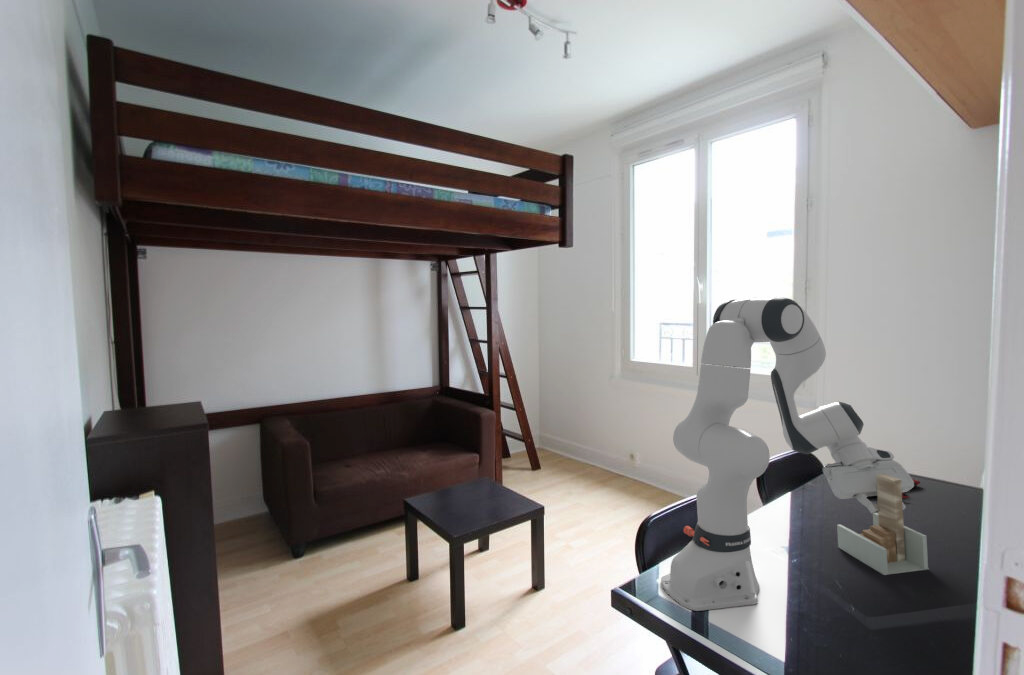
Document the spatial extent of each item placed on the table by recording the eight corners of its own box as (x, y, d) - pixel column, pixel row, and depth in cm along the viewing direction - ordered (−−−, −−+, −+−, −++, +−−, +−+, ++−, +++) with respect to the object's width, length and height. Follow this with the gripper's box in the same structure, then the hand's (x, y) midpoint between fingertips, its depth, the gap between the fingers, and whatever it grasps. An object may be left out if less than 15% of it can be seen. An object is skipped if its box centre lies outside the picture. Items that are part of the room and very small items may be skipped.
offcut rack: (884, 581, 112) (882, 541, 112) (838, 552, 126) (836, 517, 125) (929, 575, 113) (927, 535, 113) (879, 547, 127) (877, 512, 126)
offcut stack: (875, 565, 116) (873, 537, 116) (855, 553, 122) (853, 526, 122) (898, 562, 116) (896, 534, 116) (877, 551, 122) (875, 524, 122)
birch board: (897, 561, 117) (893, 480, 116) (880, 551, 122) (876, 474, 121) (905, 560, 117) (901, 479, 116) (887, 550, 122) (883, 473, 121)
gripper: (824, 458, 126) (856, 509, 116) (896, 451, 128) (934, 500, 118) (813, 470, 130) (843, 520, 121) (883, 463, 132) (918, 511, 123)
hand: (888, 510), depth 120 cm, fingers open, 5 cm apart
